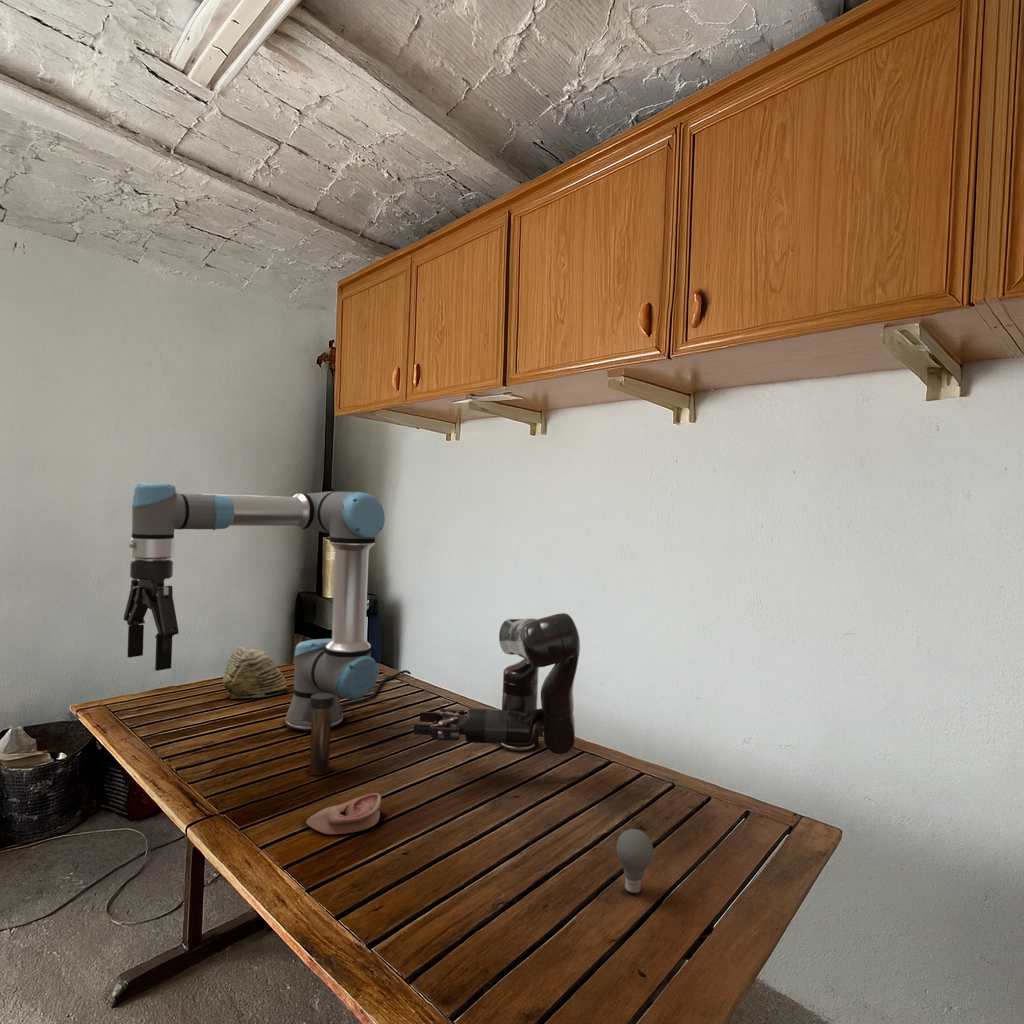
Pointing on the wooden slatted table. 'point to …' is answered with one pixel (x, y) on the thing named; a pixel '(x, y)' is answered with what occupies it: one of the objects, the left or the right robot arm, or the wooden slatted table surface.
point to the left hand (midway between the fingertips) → (148, 662)
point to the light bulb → (634, 857)
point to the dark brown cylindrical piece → (320, 741)
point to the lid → (321, 700)
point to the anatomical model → (347, 816)
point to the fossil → (252, 674)
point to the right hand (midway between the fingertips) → (416, 722)
